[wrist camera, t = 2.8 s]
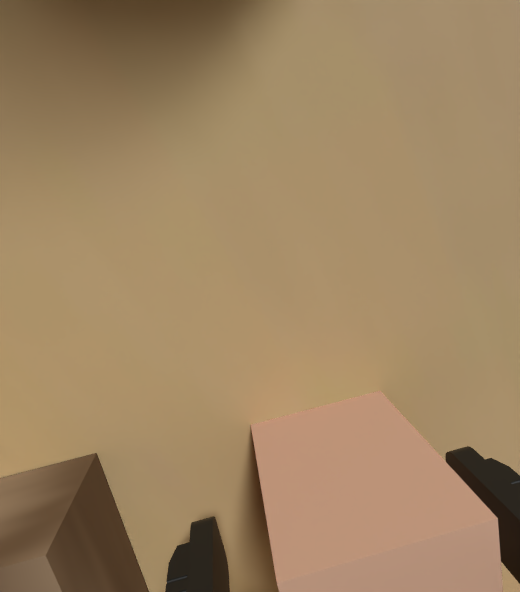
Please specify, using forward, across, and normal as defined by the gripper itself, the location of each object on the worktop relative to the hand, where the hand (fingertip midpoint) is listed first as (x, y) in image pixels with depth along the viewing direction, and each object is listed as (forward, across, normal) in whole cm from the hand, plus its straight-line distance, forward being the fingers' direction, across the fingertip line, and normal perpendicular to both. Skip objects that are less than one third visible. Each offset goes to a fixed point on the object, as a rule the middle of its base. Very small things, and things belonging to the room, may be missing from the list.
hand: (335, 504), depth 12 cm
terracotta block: (+2, 0, 0) cm, 2 cm away
